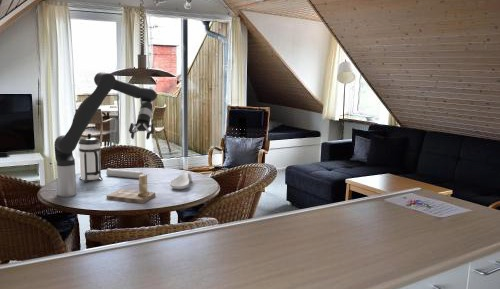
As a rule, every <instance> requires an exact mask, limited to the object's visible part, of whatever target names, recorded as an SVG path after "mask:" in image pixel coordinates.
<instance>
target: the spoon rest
mask: <svg viewBox="0 0 500 289" xmlns="http://www.w3.org/2000/svg"><path fill="white" fill-rule="evenodd" d="M192 181H193V177H192V175H191V173H190V172H182V173H181V174H179V175H178V176H177V177H174V179H172V180H170V182H169V186H170V187H171V188H172V189H173V190H177V191H178V190H185V189H186V188H188V186H189V184H190V182H192Z"/></svg>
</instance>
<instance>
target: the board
mask: <svg viewBox="0 0 500 289" xmlns="http://www.w3.org/2000/svg"><path fill="white" fill-rule="evenodd" d="M138 193H139V190H133V189H125V188H124V189H123V188H120V189H117V190H115V191H113V192H111V193H109V194H107V195H106V200H110V201H121V202H127V203H128V202H130V203H138V204H145V203H146V202H148V201H149V200H151V199H153V198H154V197H156V192H152V191H149V194H148V195H147V196H138Z"/></svg>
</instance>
